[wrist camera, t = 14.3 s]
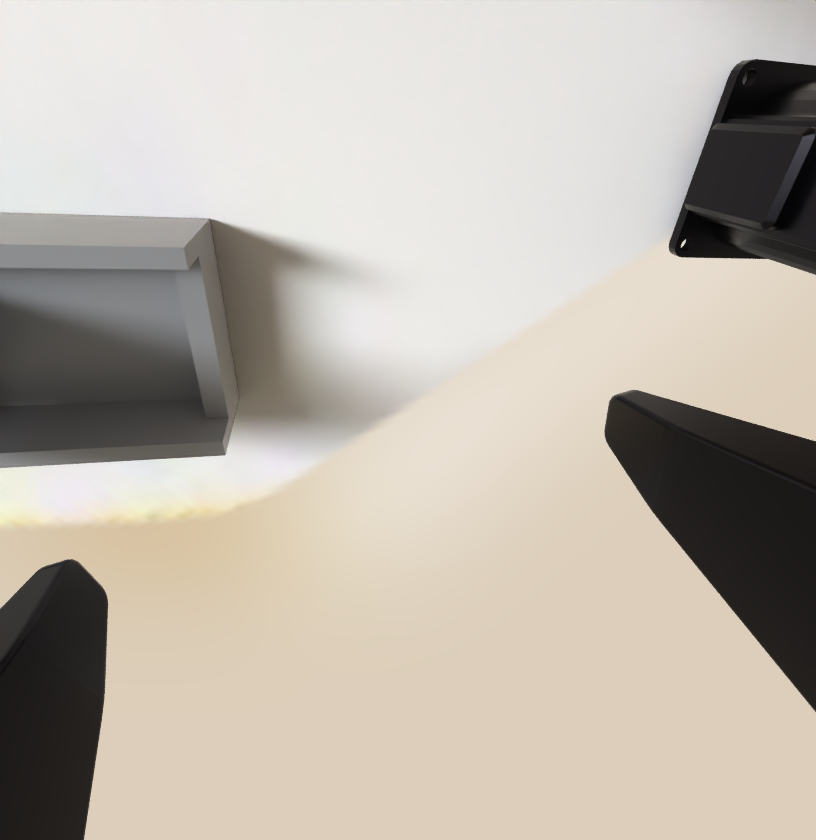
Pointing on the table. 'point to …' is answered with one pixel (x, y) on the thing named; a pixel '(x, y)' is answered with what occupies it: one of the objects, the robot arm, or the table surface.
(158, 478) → the table surface
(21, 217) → the lane
